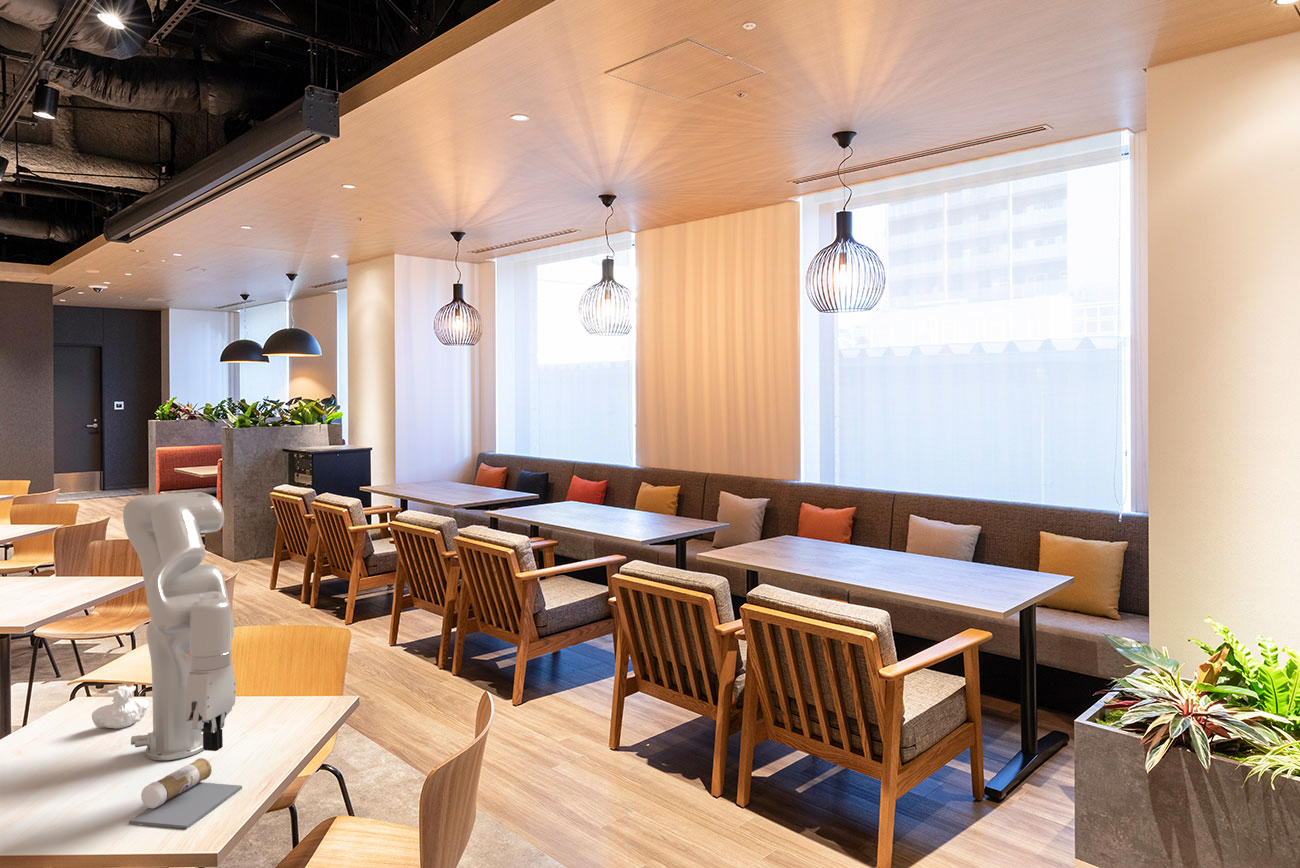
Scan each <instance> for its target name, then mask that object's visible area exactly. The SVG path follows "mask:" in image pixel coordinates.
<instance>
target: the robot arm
mask: <svg viewBox="0 0 1300 868" xmlns="http://www.w3.org/2000/svg"><path fill="white" fill-rule="evenodd" d="M122 518H123V519H122V520H123V527H124V530H125V533H126V536H127V538H128V540H129V542H130V544H131V545H132V547H133V549H134V550H135V552H136V553H137V556H138V559H139V561H140V567H141V571H142V577H143V583H144V588H145V594H146V602H147V603H146V604H147V608H148V612H149V615H150V616H149V617H150V621H149V623H148V624H147V626H146V629H145V630H146V633H145V634H146V641H147V642H146V643H147V646H148V652H149V657H150V666H151V683H152V684H151V685H152V688H151V689H152V690H151V691H152V694H151V695H152V732H147V734H143V735H142V734H139V735H131V738H130V745H131V746H134V748H142V747H146V748H145V752H144V753H145V757H146V758H148V759H150V760H154V761H173V760H179V759H184V758H187V757H190V756H193V755H195V754H198V753H200V752H202V751H208V752H209V751H210V752H217V751H220V749H222V748H223V746H224V745H223V728H224V727H225V720H226V717H227V716H228V715H229V714H230V713H231V712H232V710H233V707H234V706H235V704H236V700H237V699H236V698H237V697H236V696H237V695H236V694H237V693H236V692H237V690H236V679H235V678H236V677H235V670H234V665H233V650H232V649H233V648H232V647H233V644H232V643H233V642H232V641H233V637H234V634H235V622H234V617H233V612H232V606H231V603H230V598H229V594H228V589H227V586H226V582H225V581H226V580H225V578H224V576H223V573H222V571H221V569H220V568H219V567H218V566H216V565H214V564H210V563H207V564H206V563H204V564H203V563H202V562H203V561H204V560H205V557H206V552H207V551H206V549H205V545H204V542H203V539H202V535H201V534H208V533H215V532H218V531H220V530H221V529H222V528H223V526H224V521H225V511H224V509H223V506H222V503H220V501H219V499H218V498H217V497H215V496H213V495H211V494H209V493H206V492H202V491H192V492H191V491H189V492H177V493H176V492H175V493H159V494H148V495H143V496H138V497H135V498H132V499H130V500H128V501H127V502H126V504H124V507H123V511H122ZM201 563H202V564H201ZM189 653H190V654H189ZM188 654H189V655H188Z"/></svg>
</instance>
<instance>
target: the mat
mask: <svg viewBox="0 0 1300 868" xmlns="http://www.w3.org/2000/svg"><path fill="white" fill-rule="evenodd" d="M242 789H243V785H239V784H238V785H237V784H227V783H225V784H224V783H214V782H202V781H201V782H199V783H197V784H196V785H194V786H192V787H190V788H189V789H187V790H185V791H183V792H181V793H179V794H177V795H175V796H174V797H172V798H170V799H168V800H167V801H165V802H164V803H163V804H162V805H160V806H158V807H156V808H148V807H147V809H145V810H143V811H142V812H140V813H139V814H137V815H135V816H134V817H133V818H131V819H130V820H129V821H128V823H129V825H137V824H142V825H141V826H148V825H151V827H159V826H164V827H163V828H170V827H174V828H173V829H181V828H186V829H185V830H188V829H189V828H190V827H192V826H193V825H195V824H196V823H197V822H199V821H200V820H201V819H203V818H205V816H206V815H208V814H210V813H211V812H212V811H214V810H215V809H216V808H218V807H219V806H220V805H222V804H223V803H225V802H226V801H228V799H230V798H231V797H232V796H234V795H236V794H237V793H238V792H239V791H241V790H242ZM202 817H203V818H202ZM191 825H192V826H191ZM188 827H189V828H188ZM187 828H188V829H187Z"/></svg>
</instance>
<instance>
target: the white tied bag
mask: <svg viewBox="0 0 1300 868" xmlns="http://www.w3.org/2000/svg"><path fill="white" fill-rule="evenodd" d="M136 689H137V687H136V685H132V686H129V687H128V686H127V685H126V684H125V685H122V686H117V689H113V690H107V694H108V696H111V697H113V699H112V701H111V702H112V704H107V705H103V706H100V707H98V708H96V709H95V710H94V711H92V713H91V719H92V722H93V724H94V726H95V727H96V728H108V729H109V728H110V729H114V730H115V729H117V728H118V729H124V728H126V727H129V726H131V725H133V724H135V723H136V722H138V721H139V720H140V719H142V718H143V717H144V716H145V715H146V712H147V710H148V708H149V706H150V701H149V700H147V699H145V698H134V699H133V692H135V691H136ZM123 727H124V728H123ZM118 729H117V730H118Z"/></svg>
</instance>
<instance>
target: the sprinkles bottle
mask: <svg viewBox="0 0 1300 868" xmlns="http://www.w3.org/2000/svg"><path fill="white" fill-rule="evenodd" d="M212 771H213V770H212V765H211V763H210V762H209V760H207V759H206V758H202V757H200V758H197V759H196V760H195V761H193V762H191V763H189V764H187V765H185V766H182V767H181V768H179V769H177V770H175V771H173V772H171V773H170V774H167V775H166V776H164V777H162V778H161V779H159V780H157V781H153V782H151V783H149V784H148V785H146V786H144V788H142V790H141V794H140V797H141V798H140V799H141V802H142V804H143V805H144V806H145V807H146V808H147V809H148V808H156V807H158V806H160V805H162V804H163V803H164V802H165V801H167V800H168V799H170V798H172V797H174V796H175V795H177V794H179V793H181V792H183V791H185V790H187V789H189V788H190V787H192V786H194V785H196V784H197V783H199V782H202V781H204V780H207V779H208V778H209V777H210V776H211V775H212Z"/></svg>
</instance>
